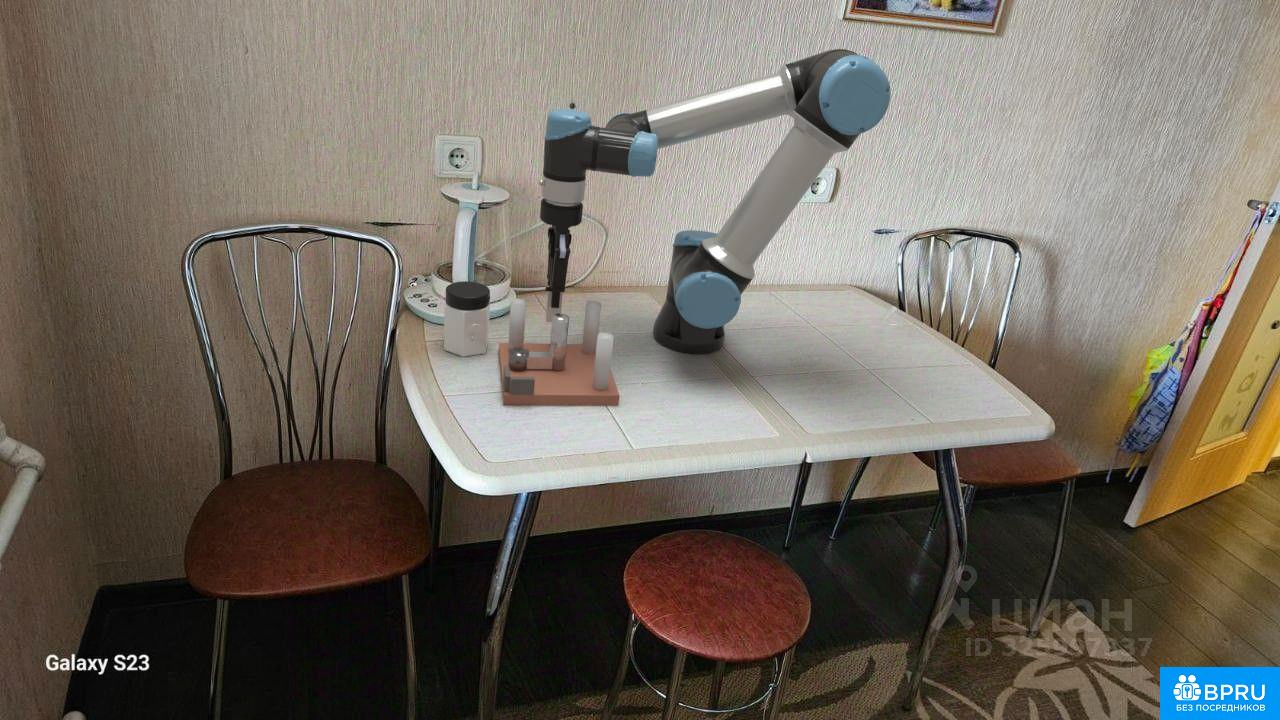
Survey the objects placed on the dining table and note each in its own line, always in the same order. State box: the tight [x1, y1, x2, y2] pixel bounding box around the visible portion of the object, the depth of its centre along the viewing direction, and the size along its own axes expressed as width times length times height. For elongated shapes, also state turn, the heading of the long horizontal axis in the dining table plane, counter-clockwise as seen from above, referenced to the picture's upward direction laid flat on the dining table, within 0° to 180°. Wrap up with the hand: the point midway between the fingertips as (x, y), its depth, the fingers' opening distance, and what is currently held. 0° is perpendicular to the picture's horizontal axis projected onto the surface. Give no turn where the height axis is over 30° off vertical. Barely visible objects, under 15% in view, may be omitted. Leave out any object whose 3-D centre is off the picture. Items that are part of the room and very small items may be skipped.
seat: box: [498, 297, 620, 406], centre depth 147 cm, size 20×20×12 cm
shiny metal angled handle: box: [508, 312, 570, 371], centre depth 146 cm, size 10×4×10 cm, turn 102°
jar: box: [443, 281, 491, 358], centre depth 154 cm, size 9×8×12 cm
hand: (552, 320), depth 155 cm, fingers closed
